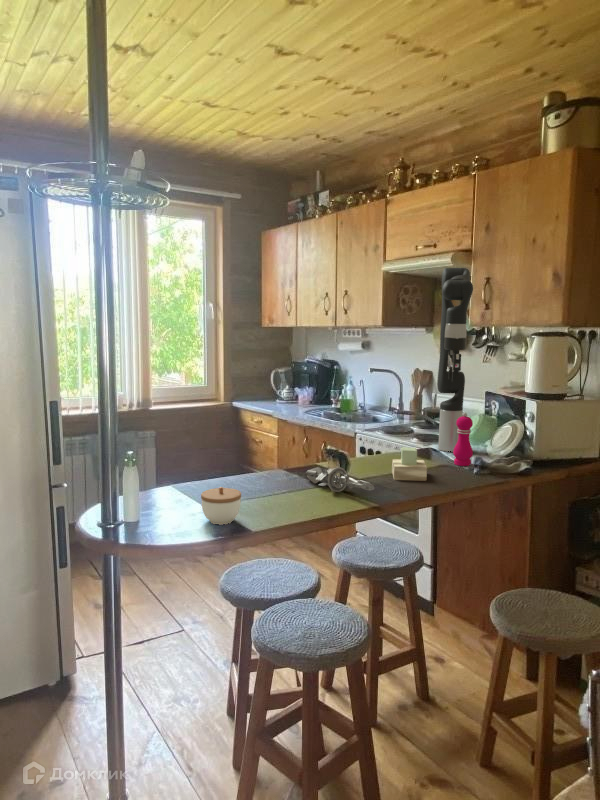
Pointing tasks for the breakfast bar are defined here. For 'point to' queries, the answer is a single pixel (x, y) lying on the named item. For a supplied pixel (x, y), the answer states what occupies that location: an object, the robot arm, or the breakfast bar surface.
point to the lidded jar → (221, 504)
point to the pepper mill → (463, 441)
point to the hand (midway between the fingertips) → (453, 380)
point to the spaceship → (336, 479)
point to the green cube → (408, 456)
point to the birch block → (409, 470)
